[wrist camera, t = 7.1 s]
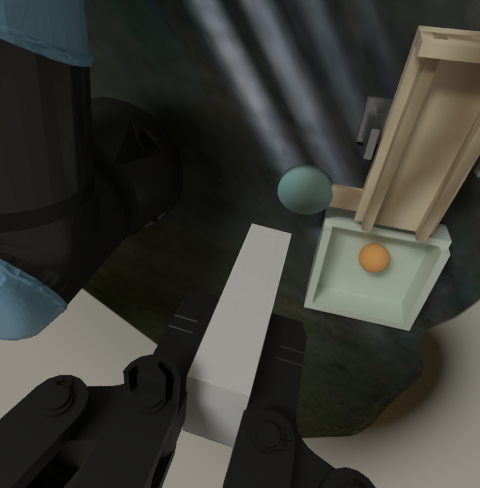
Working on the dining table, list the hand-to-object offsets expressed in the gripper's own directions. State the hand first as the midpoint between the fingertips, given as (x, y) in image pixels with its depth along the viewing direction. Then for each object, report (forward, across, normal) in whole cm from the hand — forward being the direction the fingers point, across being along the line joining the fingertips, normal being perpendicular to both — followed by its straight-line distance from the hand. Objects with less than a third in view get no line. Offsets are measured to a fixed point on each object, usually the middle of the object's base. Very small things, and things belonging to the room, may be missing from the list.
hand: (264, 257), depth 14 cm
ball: (+22, +10, -14) cm, 28 cm away
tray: (+24, +10, -16) cm, 31 cm away
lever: (+19, +5, -1) cm, 20 cm away
